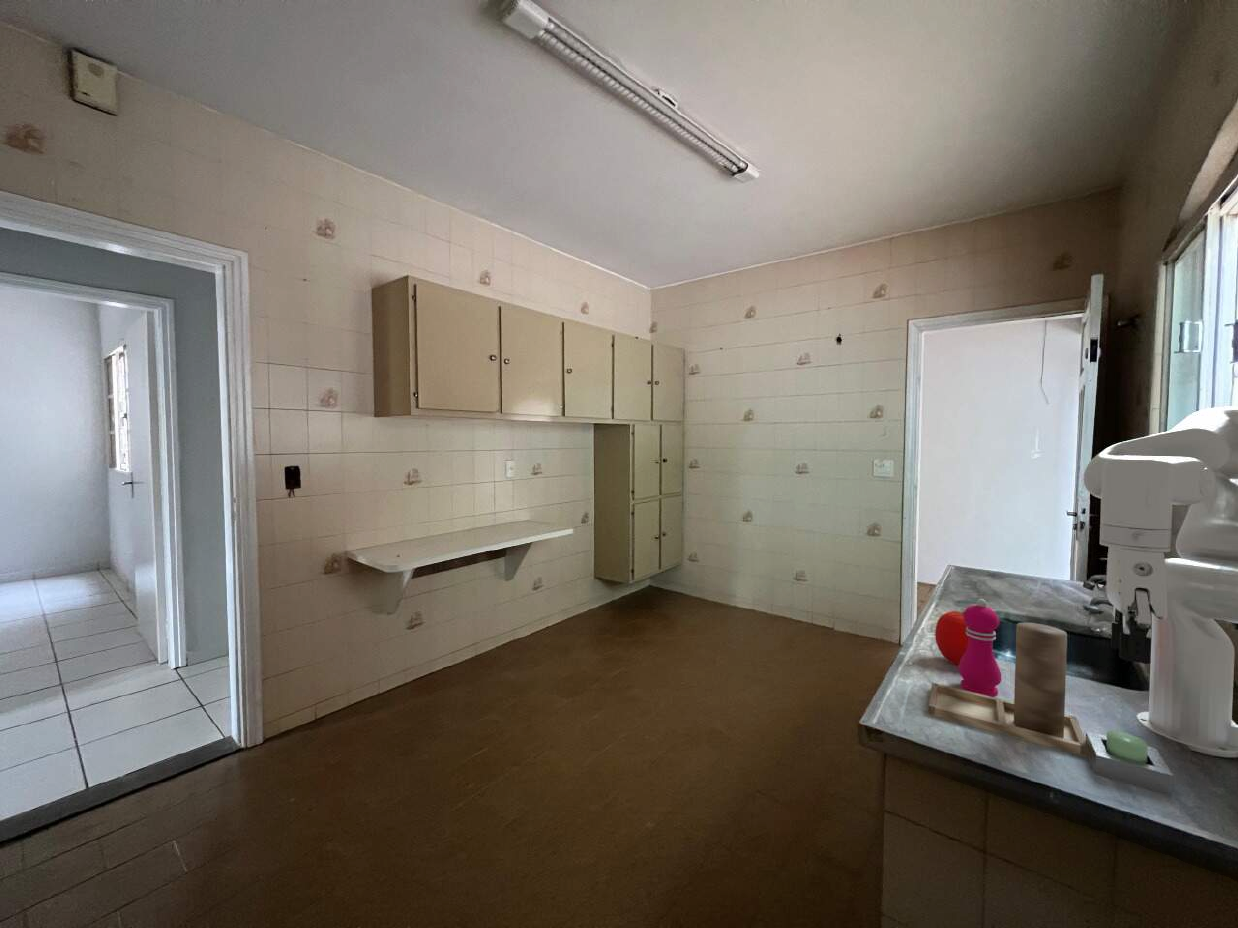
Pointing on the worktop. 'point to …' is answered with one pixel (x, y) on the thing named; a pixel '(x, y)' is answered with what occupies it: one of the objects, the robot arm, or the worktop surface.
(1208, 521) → the robot arm
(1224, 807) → the worktop surface
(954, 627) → the tomato
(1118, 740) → the button
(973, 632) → the pepper mill
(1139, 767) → the button box
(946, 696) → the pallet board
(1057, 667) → the seated billet
